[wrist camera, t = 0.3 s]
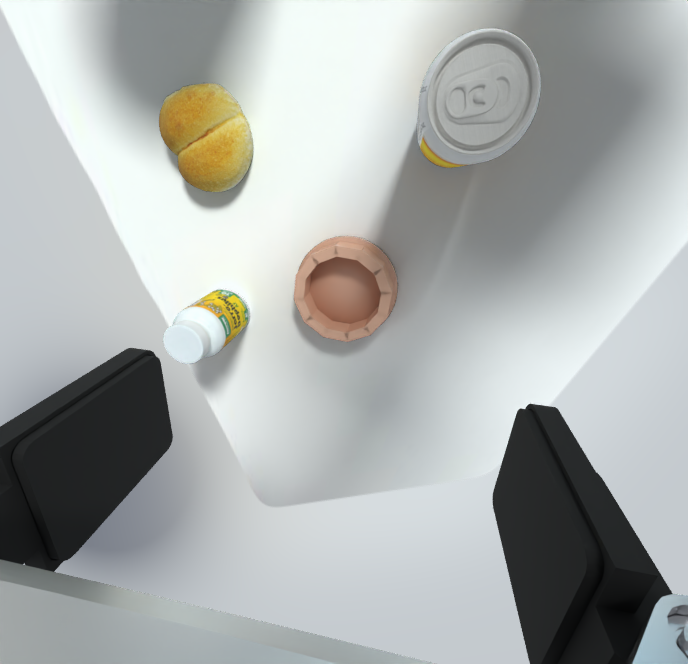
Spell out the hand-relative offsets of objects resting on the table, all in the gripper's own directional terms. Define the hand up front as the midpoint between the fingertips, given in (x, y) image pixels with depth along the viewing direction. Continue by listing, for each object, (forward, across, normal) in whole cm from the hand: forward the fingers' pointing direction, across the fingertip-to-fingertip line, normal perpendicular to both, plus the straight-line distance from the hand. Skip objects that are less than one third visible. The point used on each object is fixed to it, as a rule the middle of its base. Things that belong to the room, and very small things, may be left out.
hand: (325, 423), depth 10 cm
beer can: (+30, -4, -10) cm, 32 cm away
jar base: (+30, +4, +5) cm, 30 cm away
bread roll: (+30, +18, -8) cm, 36 cm away
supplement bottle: (+30, +18, +10) cm, 36 cm away
